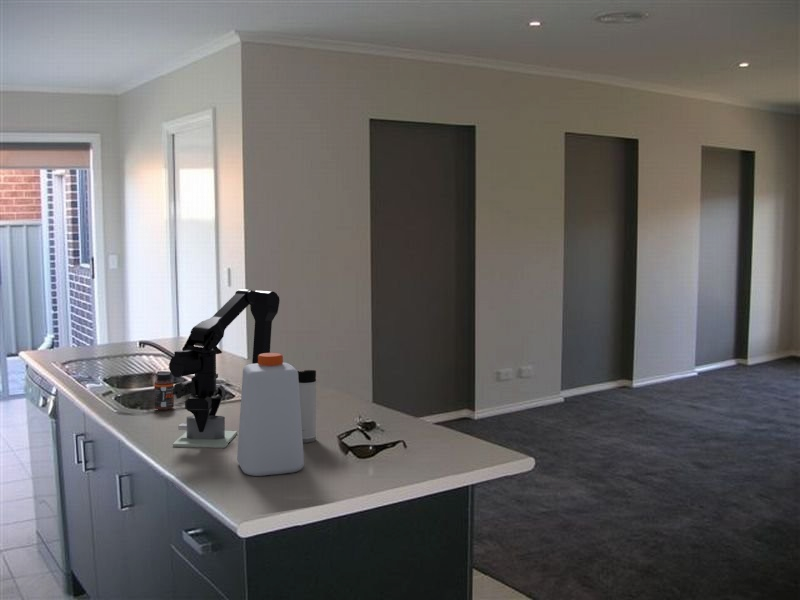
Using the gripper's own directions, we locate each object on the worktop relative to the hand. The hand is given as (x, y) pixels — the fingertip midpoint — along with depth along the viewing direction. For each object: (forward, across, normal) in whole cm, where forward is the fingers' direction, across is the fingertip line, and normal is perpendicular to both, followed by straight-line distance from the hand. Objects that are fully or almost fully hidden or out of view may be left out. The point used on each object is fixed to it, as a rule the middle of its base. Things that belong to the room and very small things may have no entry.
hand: (205, 427), depth 215 cm
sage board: (+4, 0, 0) cm, 4 cm away
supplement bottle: (+4, -35, -23) cm, 42 cm away
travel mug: (+4, -2, +27) cm, 27 cm away
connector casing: (+3, 0, 0) cm, 3 cm away
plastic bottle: (+4, +22, +22) cm, 31 cm away
